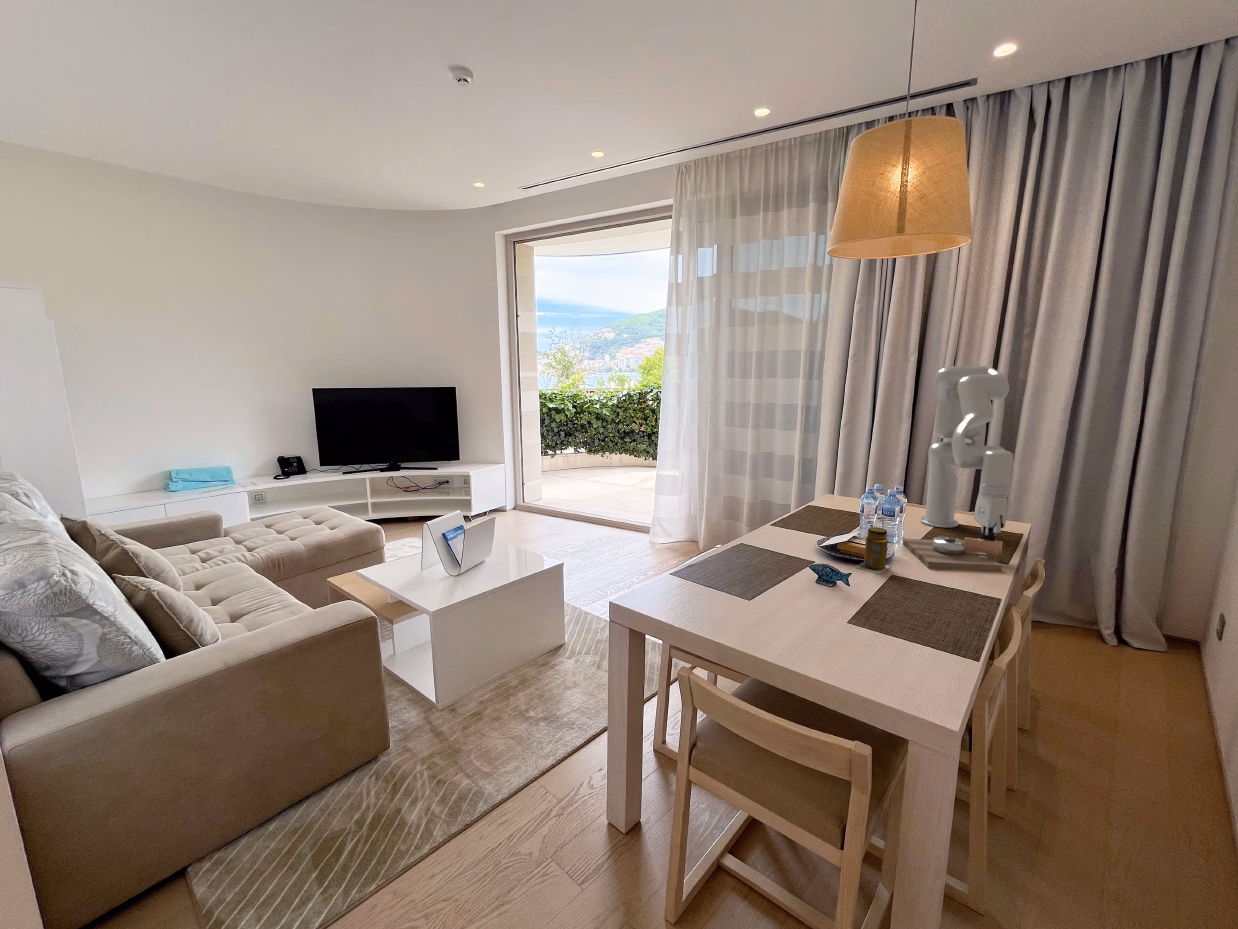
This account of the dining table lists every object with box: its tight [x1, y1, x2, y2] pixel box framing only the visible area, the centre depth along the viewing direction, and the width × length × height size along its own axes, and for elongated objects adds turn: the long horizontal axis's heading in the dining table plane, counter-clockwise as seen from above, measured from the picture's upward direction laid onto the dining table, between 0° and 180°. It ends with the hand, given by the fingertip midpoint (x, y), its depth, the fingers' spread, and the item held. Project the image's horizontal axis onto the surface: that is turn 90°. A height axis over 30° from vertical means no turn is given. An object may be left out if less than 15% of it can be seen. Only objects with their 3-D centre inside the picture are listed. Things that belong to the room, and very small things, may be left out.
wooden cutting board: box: [902, 538, 1003, 572], centre depth 170 cm, size 22×20×2 cm
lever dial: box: [932, 536, 1003, 556], centre depth 167 cm, size 18×9×4 cm, turn 65°
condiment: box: [855, 526, 891, 575], centre depth 162 cm, size 7×8×12 cm
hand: (987, 546), depth 168 cm, fingers closed
